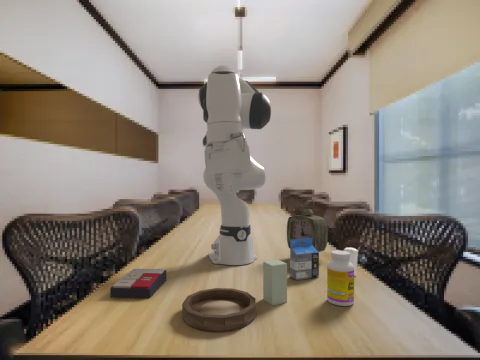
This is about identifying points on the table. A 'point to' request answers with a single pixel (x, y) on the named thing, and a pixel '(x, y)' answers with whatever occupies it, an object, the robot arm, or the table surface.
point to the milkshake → (353, 257)
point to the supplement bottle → (340, 279)
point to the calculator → (139, 284)
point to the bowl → (219, 309)
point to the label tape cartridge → (303, 259)
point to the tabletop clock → (308, 228)
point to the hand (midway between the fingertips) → (226, 191)
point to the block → (275, 282)
